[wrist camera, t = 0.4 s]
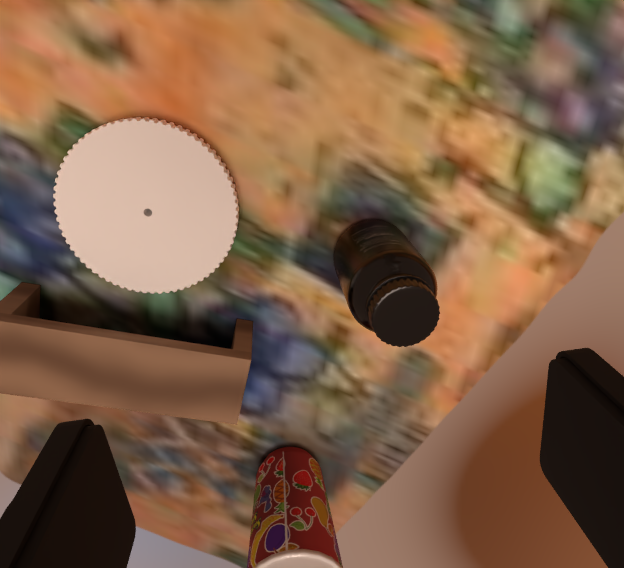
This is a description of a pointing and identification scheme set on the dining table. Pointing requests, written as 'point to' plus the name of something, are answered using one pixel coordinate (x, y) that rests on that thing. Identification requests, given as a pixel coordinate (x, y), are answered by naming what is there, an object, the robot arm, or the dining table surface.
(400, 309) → the supplement bottle
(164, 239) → the plastic lid
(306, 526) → the smoothie
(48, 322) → the walnut bridge
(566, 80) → the dining table surface
